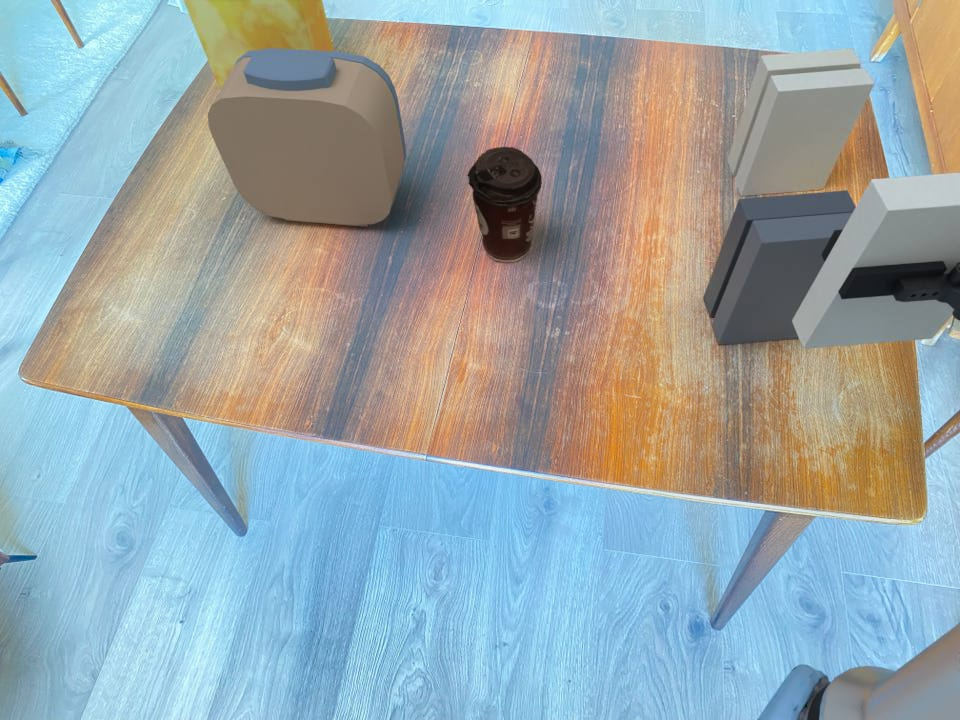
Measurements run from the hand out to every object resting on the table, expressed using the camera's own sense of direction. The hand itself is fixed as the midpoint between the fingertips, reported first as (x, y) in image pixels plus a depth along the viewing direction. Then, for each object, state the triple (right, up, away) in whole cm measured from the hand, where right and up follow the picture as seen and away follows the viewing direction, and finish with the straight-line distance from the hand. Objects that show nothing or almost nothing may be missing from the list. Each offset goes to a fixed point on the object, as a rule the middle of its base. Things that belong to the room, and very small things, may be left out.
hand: (838, 264), depth 51 cm
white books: (+13, +18, +42) cm, 48 cm away
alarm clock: (-47, +14, +43) cm, 65 cm away
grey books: (+6, -2, +29) cm, 30 cm away
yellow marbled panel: (-58, +38, +60) cm, 91 cm away
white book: (+6, -5, +8) cm, 11 cm away
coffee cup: (-23, +8, +38) cm, 45 cm away
